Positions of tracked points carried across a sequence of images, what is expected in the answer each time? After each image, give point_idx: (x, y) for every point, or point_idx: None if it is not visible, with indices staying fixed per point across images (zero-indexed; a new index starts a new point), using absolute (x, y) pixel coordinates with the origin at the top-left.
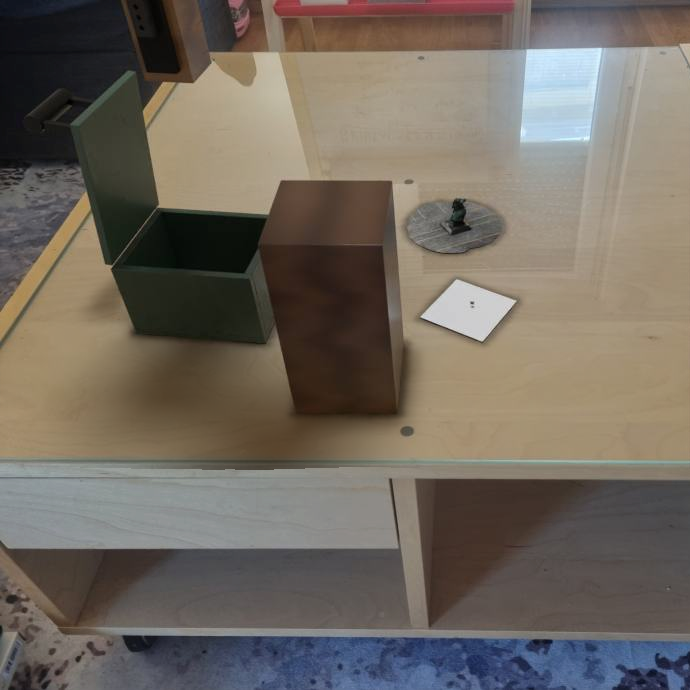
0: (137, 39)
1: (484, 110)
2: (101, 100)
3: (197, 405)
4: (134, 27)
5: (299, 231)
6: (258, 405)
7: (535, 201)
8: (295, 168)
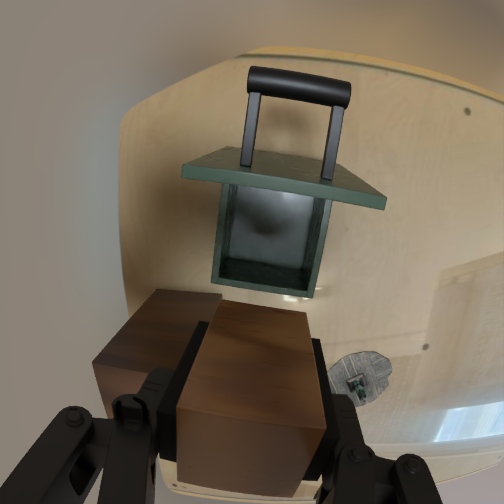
0: (185, 351)
1: (494, 382)
2: (270, 184)
3: (159, 223)
4: (146, 378)
5: (113, 389)
6: (161, 264)
7: (375, 423)
8: (466, 252)
